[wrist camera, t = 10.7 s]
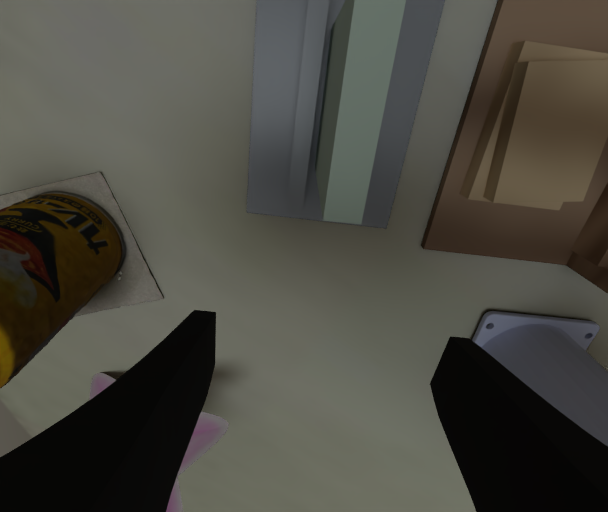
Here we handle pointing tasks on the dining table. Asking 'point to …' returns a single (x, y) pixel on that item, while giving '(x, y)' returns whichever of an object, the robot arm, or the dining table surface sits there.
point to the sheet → (354, 103)
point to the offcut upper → (550, 132)
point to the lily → (201, 440)
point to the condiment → (63, 264)
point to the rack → (449, 202)
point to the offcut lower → (488, 137)
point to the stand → (308, 102)
